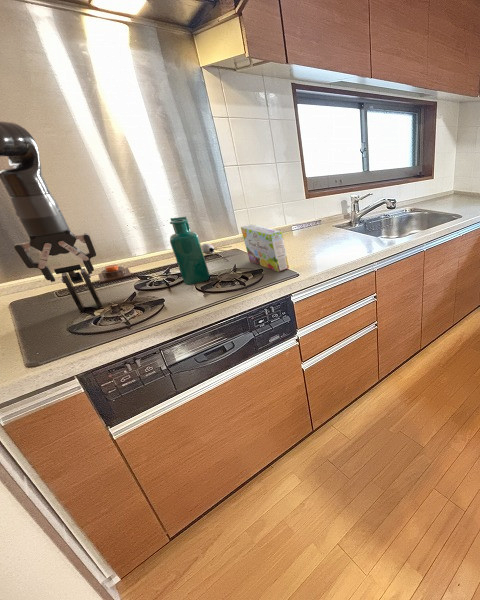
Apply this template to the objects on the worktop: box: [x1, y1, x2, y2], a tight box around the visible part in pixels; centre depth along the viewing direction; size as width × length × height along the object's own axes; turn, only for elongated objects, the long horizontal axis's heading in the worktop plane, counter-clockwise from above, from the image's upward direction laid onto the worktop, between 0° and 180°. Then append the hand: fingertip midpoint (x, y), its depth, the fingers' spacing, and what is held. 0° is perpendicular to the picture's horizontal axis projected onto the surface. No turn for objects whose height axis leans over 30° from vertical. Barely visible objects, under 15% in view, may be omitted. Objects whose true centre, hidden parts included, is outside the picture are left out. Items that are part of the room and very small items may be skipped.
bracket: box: [60, 267, 103, 314], centre depth 95 cm, size 10×9×13 cm
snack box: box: [240, 224, 290, 273], centre depth 129 cm, size 21×6×15 cm, turn 53°
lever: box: [53, 263, 85, 285], centre depth 89 cm, size 12×5×2 cm, turn 42°
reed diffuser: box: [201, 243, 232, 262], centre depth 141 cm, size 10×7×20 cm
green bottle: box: [169, 216, 211, 285], centre depth 115 cm, size 10×8×22 cm
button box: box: [97, 266, 133, 284], centre depth 120 cm, size 11×9×4 cm
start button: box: [104, 264, 119, 272], centre depth 119 cm, size 4×4×2 cm
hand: (72, 276), depth 86 cm, fingers open, 7 cm apart
